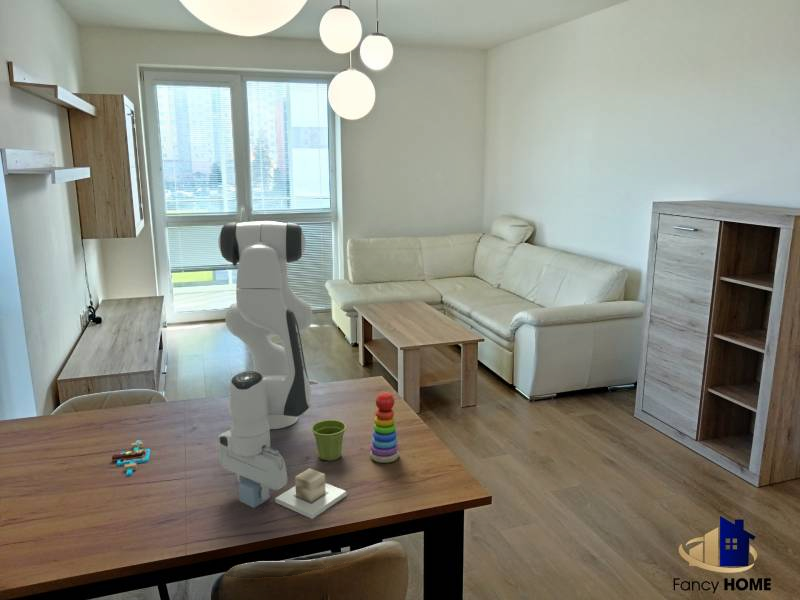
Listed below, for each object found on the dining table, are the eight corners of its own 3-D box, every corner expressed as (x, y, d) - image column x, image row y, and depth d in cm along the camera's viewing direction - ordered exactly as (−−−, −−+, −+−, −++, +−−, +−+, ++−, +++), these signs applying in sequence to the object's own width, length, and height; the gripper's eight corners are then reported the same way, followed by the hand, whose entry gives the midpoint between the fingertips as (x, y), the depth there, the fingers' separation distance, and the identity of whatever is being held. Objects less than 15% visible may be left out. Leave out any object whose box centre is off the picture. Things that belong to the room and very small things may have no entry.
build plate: (275, 502, 145) (275, 497, 145) (310, 481, 155) (310, 476, 154) (312, 518, 138) (312, 513, 138) (346, 495, 148) (346, 490, 148)
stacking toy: (395, 465, 162) (395, 400, 158) (367, 462, 164) (365, 398, 160) (401, 452, 170) (401, 389, 166) (374, 449, 171) (372, 387, 167)
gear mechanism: (106, 480, 157) (145, 475, 159) (103, 461, 155) (143, 456, 158) (118, 446, 175) (153, 442, 178) (116, 429, 174) (151, 424, 177)
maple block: (296, 495, 146) (295, 476, 144) (310, 486, 150) (309, 468, 148) (311, 502, 143) (310, 482, 142) (325, 492, 147) (324, 473, 146)
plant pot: (319, 467, 162) (318, 437, 160) (308, 452, 170) (306, 423, 168) (352, 459, 166) (351, 430, 164) (339, 445, 174) (338, 417, 172)
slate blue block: (239, 501, 146) (238, 482, 145) (255, 492, 150) (254, 473, 149) (253, 507, 143) (252, 488, 142) (269, 498, 147) (268, 479, 146)
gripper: (292, 447, 139) (294, 501, 143) (233, 425, 151) (237, 476, 154) (271, 458, 134) (274, 513, 138) (212, 434, 146) (216, 486, 149)
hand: (254, 493), depth 146 cm, fingers closed on slate blue block, 5 cm apart
